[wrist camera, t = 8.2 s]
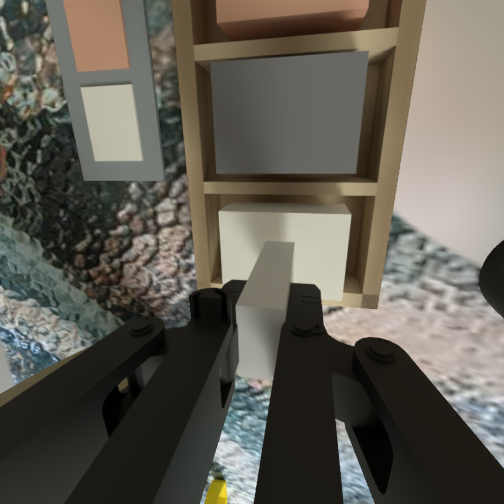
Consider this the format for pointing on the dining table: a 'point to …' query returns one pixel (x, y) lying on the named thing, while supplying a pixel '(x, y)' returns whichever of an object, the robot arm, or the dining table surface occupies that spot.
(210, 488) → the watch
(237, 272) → the cream rectangular block
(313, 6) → the key terracotta
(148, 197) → the dining table surface
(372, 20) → the wooden compartment tray
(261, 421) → the dining table surface
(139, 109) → the card
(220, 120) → the grey rectangular block
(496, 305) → the travel mug
